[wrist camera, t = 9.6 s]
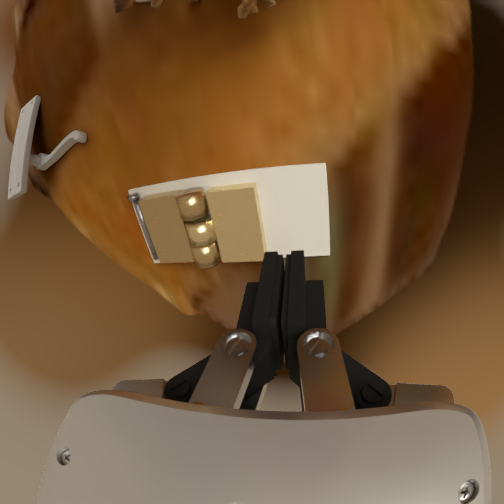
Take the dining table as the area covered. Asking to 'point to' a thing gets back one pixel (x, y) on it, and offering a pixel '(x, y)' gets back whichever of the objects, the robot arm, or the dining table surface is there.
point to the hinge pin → (143, 222)
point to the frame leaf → (178, 226)
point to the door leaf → (231, 223)
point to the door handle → (23, 149)
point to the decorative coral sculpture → (247, 6)
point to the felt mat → (275, 204)
